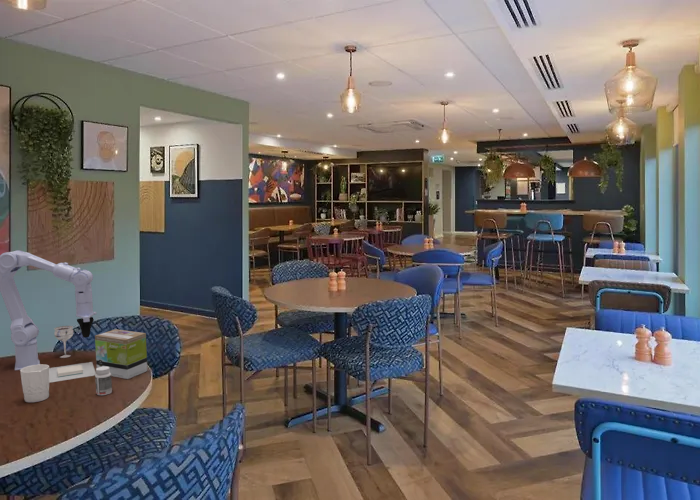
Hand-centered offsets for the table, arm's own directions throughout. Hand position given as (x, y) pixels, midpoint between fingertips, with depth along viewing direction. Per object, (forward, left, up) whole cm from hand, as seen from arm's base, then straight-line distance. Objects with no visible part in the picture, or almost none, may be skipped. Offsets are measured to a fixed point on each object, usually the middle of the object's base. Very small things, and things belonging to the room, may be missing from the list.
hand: (86, 336), depth 204 cm
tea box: (+19, +10, -11) cm, 24 cm away
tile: (+7, -7, -9) cm, 13 cm away
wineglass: (-14, -7, -11) cm, 19 cm away
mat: (+9, -7, -10) cm, 15 cm away
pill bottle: (+38, +2, -11) cm, 40 cm away
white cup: (+32, -17, -11) cm, 38 cm away
